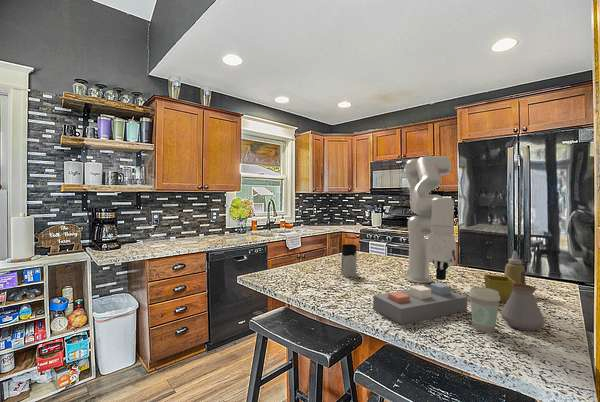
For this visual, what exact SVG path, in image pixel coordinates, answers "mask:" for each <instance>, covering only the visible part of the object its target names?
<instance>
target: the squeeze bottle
mask: <svg viewBox="0 0 600 402" xmlns="http://www.w3.org/2000/svg"><path fill="white" fill-rule="evenodd" d="M521 271H524V274H525V275H526V273H525V272H526V270H525V266H524V265H522V259H519V254H518V251H516V250H513V252H512V256H511V258H508V263H506V264H505V268H504V274H503V276H505V277H509V278H510V279H512V280H513V281H514V282H515V283H518V284H521V275H520V274H522V273H521ZM519 272H520V274H519ZM524 277H525V278H526V276H524ZM524 284H525V285H527V284H526V281H525V283H524Z"/></svg>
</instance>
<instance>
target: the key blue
mask: <svg viewBox="0 0 600 402" xmlns="http://www.w3.org/2000/svg"><path fill="white" fill-rule="evenodd" d="M429 287H430V289H431V293H434V294H436V295H439V296H446V295H451V292H452V290H451V289H452V286H451V285H448V284H446V283H442V282H435V283H430V284H429Z"/></svg>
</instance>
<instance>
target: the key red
mask: <svg viewBox="0 0 600 402" xmlns="http://www.w3.org/2000/svg"><path fill="white" fill-rule="evenodd" d="M394 292H395V293H392V292H388V299H390V300H392V301H394V302H396V303H404V302H410V296H408V295H406V294H403V293H401V292H399V291H394Z"/></svg>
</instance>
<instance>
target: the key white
mask: <svg viewBox="0 0 600 402" xmlns="http://www.w3.org/2000/svg"><path fill="white" fill-rule="evenodd" d="M409 290H410V296H413V297H415V298H418V299H420V300H422V299H428V298H431V289H429V288H427V286H423V285H421V284H418V285H413V286H410V287H409Z"/></svg>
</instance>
